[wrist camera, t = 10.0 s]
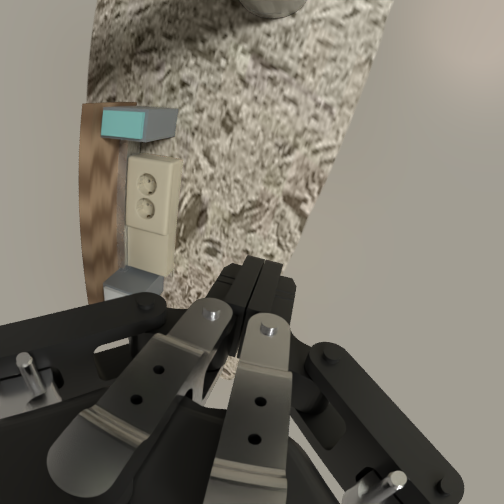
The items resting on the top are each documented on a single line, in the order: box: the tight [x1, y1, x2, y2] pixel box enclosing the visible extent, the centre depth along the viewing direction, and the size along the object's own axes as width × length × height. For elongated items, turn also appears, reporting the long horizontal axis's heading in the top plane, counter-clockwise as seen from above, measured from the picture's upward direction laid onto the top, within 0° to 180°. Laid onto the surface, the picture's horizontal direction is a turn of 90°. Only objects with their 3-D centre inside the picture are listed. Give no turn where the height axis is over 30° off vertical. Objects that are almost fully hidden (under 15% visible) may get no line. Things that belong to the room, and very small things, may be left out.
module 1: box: [101, 106, 178, 142], centre depth 36 cm, size 4×7×9 cm, turn 80°
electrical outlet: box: [126, 153, 183, 277], centre depth 44 cm, size 7×4×18 cm
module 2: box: [103, 267, 164, 301], centre depth 48 cm, size 4×7×9 cm, turn 80°
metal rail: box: [117, 139, 141, 272], centre depth 44 cm, size 22×2×4 cm, turn 170°
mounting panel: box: [79, 102, 137, 305], centre depth 42 cm, size 31×2×10 cm, turn 170°
